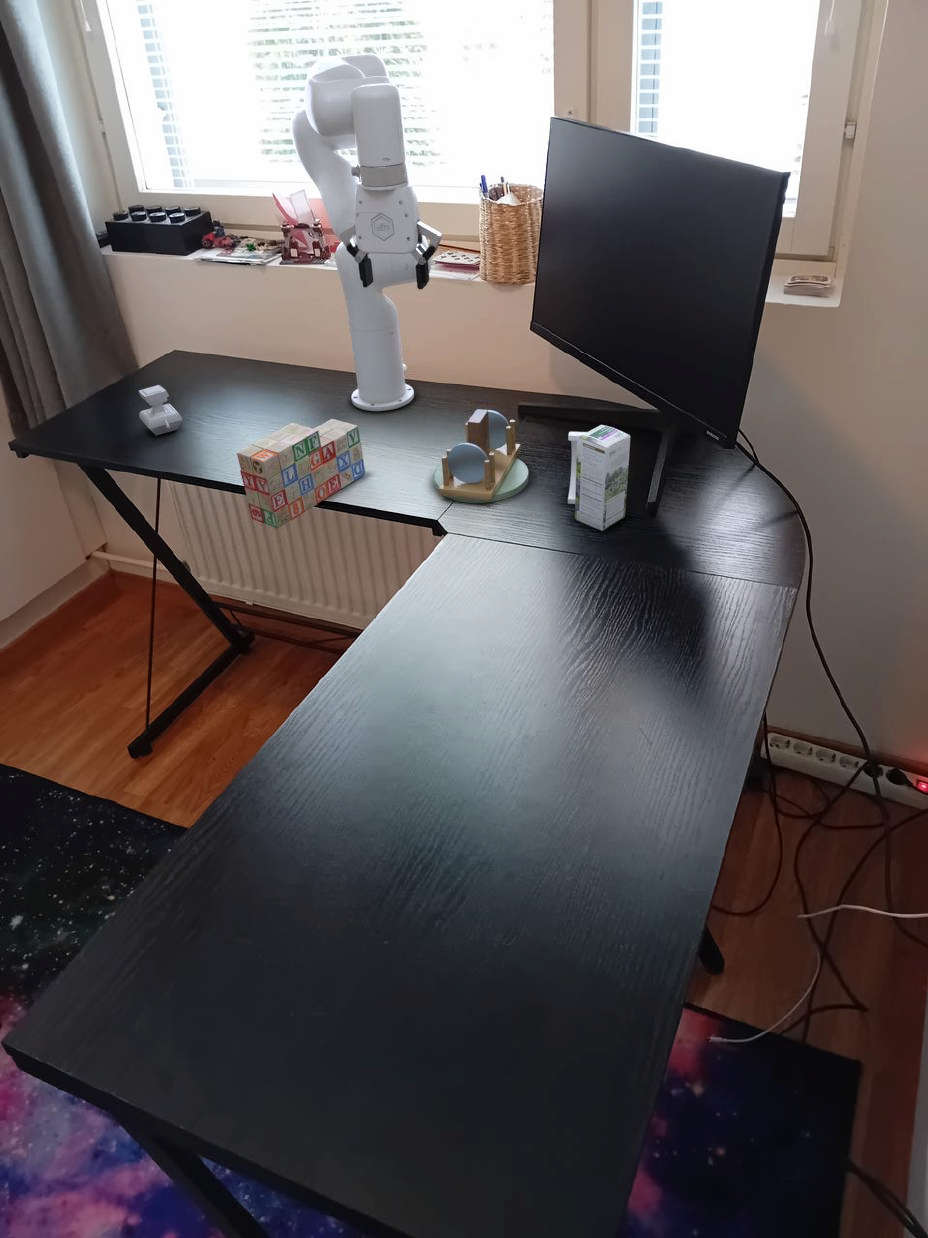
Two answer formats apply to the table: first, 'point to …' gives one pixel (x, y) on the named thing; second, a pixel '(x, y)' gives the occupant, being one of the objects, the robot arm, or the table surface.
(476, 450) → the plate rack
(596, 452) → the syrup box
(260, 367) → the table surface
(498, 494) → the turntable
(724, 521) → the table surface
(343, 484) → the stack of blocks
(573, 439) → the white curved piece
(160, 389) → the stamp
